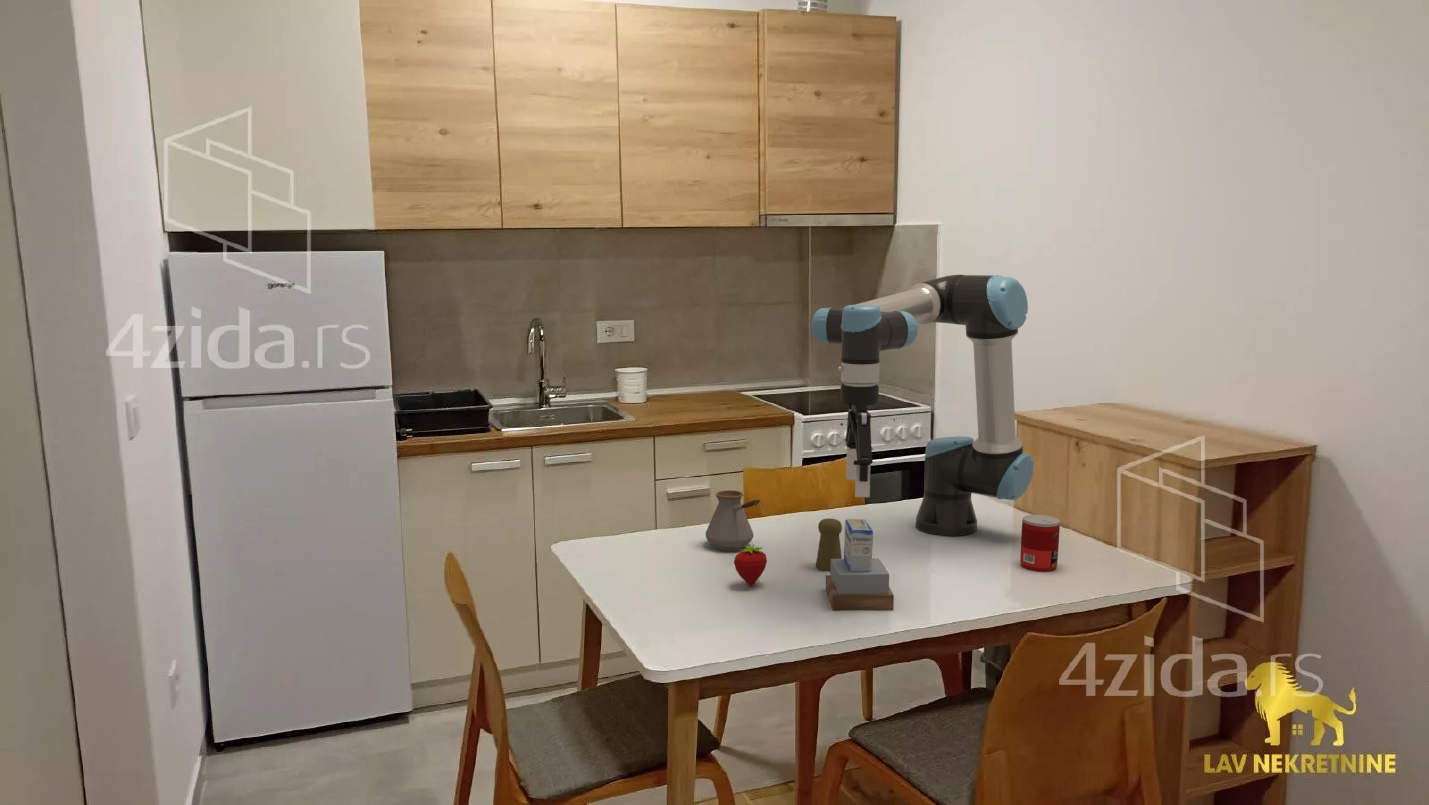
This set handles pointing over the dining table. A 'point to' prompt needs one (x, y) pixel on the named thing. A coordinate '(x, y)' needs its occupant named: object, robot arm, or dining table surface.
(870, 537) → the medicine box
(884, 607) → the walnut slab
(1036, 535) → the canned food
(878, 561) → the slate slab
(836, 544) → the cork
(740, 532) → the coffee pot
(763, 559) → the strawberry
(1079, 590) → the dining table surface
